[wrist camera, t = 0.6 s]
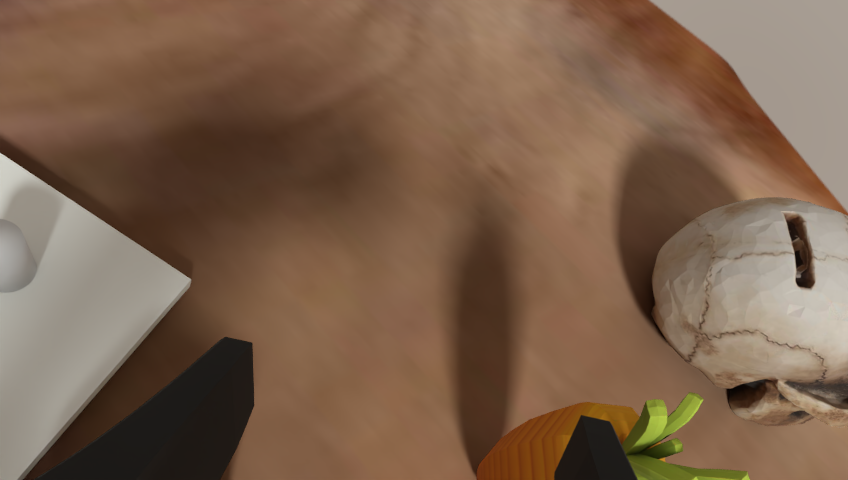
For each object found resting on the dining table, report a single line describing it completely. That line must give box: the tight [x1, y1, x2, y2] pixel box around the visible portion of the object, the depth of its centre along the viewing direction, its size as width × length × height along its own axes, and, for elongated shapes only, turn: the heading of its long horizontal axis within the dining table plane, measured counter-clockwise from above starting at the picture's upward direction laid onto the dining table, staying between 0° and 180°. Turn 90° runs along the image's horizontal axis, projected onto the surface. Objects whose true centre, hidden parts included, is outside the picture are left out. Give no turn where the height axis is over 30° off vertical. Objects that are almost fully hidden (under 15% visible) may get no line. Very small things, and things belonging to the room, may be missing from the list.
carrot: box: [477, 392, 750, 480], centre depth 24 cm, size 5×5×15 cm
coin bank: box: [651, 198, 848, 428], centre depth 37 cm, size 16×17×13 cm
